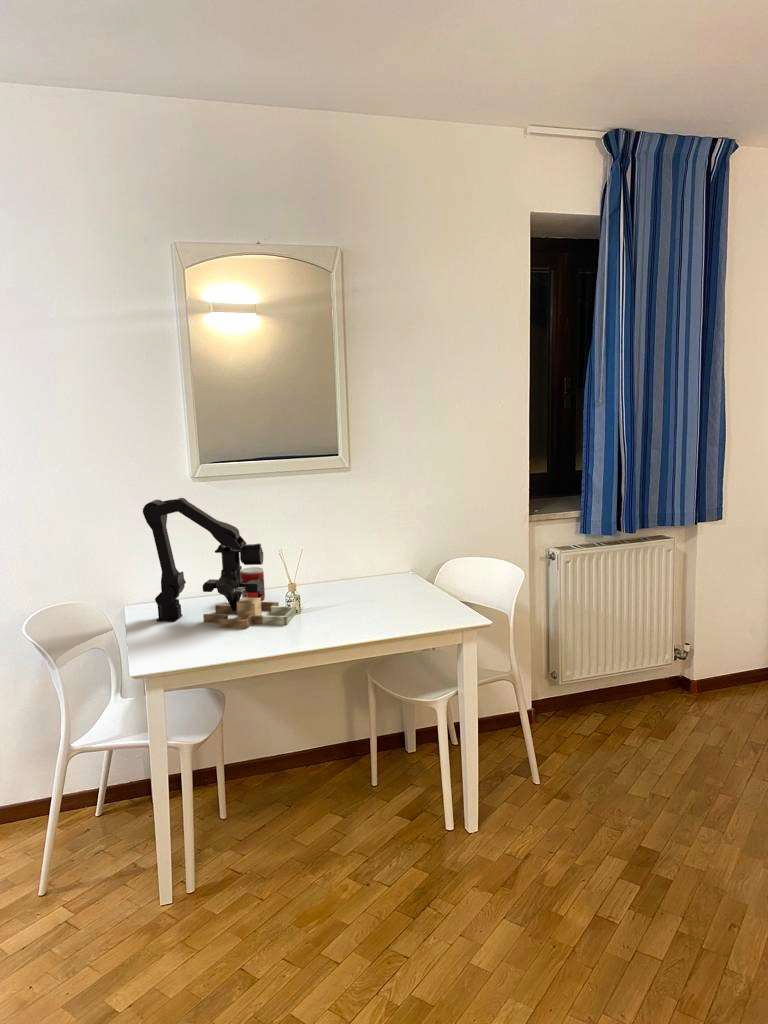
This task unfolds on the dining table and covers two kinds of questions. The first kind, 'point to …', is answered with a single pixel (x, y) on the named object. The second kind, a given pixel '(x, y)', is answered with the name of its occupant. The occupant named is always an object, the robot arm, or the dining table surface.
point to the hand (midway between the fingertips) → (234, 611)
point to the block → (248, 607)
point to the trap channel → (251, 616)
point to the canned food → (253, 574)
